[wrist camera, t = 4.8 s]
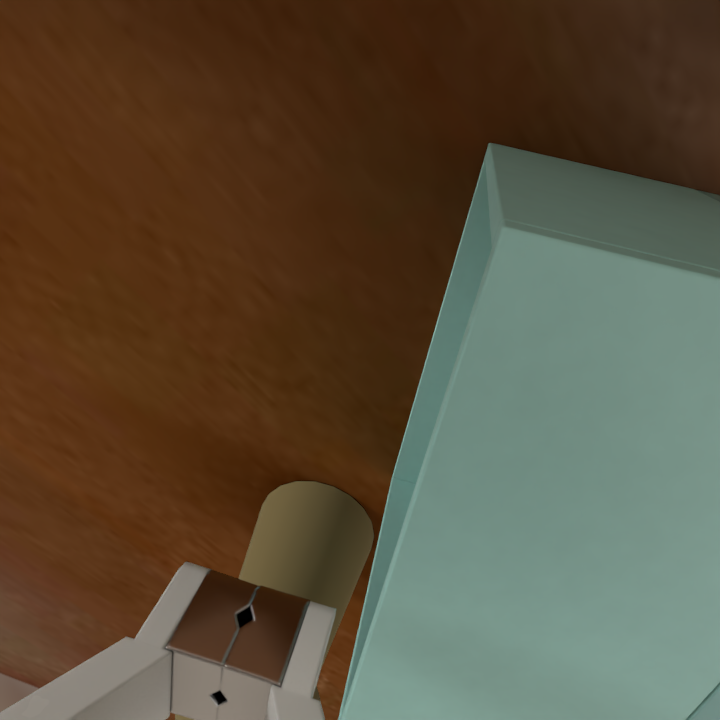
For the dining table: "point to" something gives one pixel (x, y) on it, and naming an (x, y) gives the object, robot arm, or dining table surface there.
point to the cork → (309, 546)
